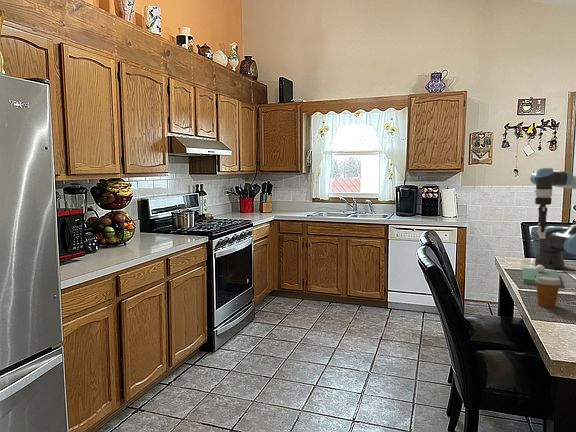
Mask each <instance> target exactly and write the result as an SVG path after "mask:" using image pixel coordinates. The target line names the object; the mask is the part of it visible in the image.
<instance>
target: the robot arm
mask: <svg viewBox="0 0 576 432" xmlns="http://www.w3.org/2000/svg"><path fill="white" fill-rule="evenodd" d="M529 180H530V182H531V183H532V184H533V185H535V190H534V193H535V198H534V199H535V200H534V203H535V205H539V206H538V219H537V222H538V223H537V226H538V227H537V236H538V241H539V243H538V254H537V256H536V258H535V260H534V266H535V267H536V266H537V265H543V266H544V268H545V269H548V270H561V269H562V270H563V269H565V267H566V262H565V260H564V257H563V253H568V254H571V255H576V223H575V224H571V225H569V226H568V227H567V228H566V229H565V230H564V227H562V226H560V227H559V226H554V227H553V226H551V227H547V214H548V207H547V205H548V206H549V205H551V204H552V199H553V198H552V196H553V187H556V188H564V189H569V190H576V175H574V174H573V173H572V172H570V171H554V169H553V168H552V167H540V168H538V169H537V171H534V172H532V173H531V175H530V179H529Z"/></svg>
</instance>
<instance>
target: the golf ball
mask: <svg viewBox="0 0 576 432" xmlns="http://www.w3.org/2000/svg"><path fill="white" fill-rule="evenodd" d="M535 269H536V270H537V271H538V272H543V271H544V270H546V268H544V266H543V265H537V266H535Z"/></svg>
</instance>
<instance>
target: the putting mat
mask: <svg viewBox="0 0 576 432" xmlns="http://www.w3.org/2000/svg"><path fill="white" fill-rule="evenodd" d="M521 272H522V283H523V285H531V286H536V281H535V279H536V276H538V275H548V276H555V277H558V278H560V276H559V274H558V271H557V270H555V269H544V271H543V272H538V271H537V270H536V268H527V267H522V271H521ZM561 287H562V282H561V283H560V285H559V288H561Z"/></svg>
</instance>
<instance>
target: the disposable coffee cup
mask: <svg viewBox="0 0 576 432" xmlns="http://www.w3.org/2000/svg"><path fill="white" fill-rule="evenodd" d="M535 281H536V285H535V286H536V296H537V305H538V306H539V307H542V306H544V307H543V308H549V307H551V308H555V307H556V305H557V299H558V296H559V295H558V294H559V289H560V287H559V285H560V283H561V284H562V280H561V279H560V277H559V278H558V277H555V276H548V275H538V276H536V279H535Z"/></svg>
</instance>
